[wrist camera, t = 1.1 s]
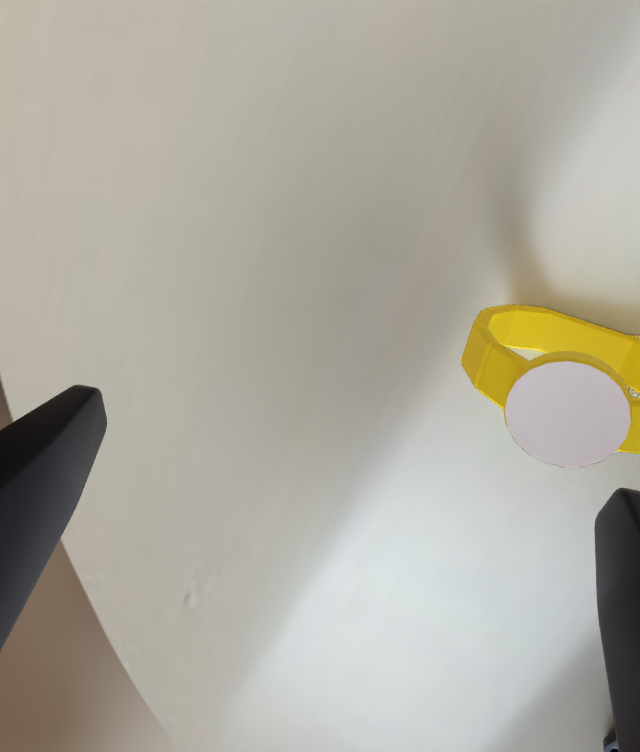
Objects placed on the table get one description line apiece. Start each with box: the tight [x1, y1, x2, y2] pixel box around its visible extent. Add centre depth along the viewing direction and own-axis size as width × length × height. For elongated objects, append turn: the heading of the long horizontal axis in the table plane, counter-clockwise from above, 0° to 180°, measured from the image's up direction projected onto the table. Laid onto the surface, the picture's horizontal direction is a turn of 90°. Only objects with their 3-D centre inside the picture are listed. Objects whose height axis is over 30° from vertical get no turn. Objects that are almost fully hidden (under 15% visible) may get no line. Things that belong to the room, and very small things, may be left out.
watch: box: [461, 304, 640, 467], centre depth 16 cm, size 6×3×6 cm, turn 78°
